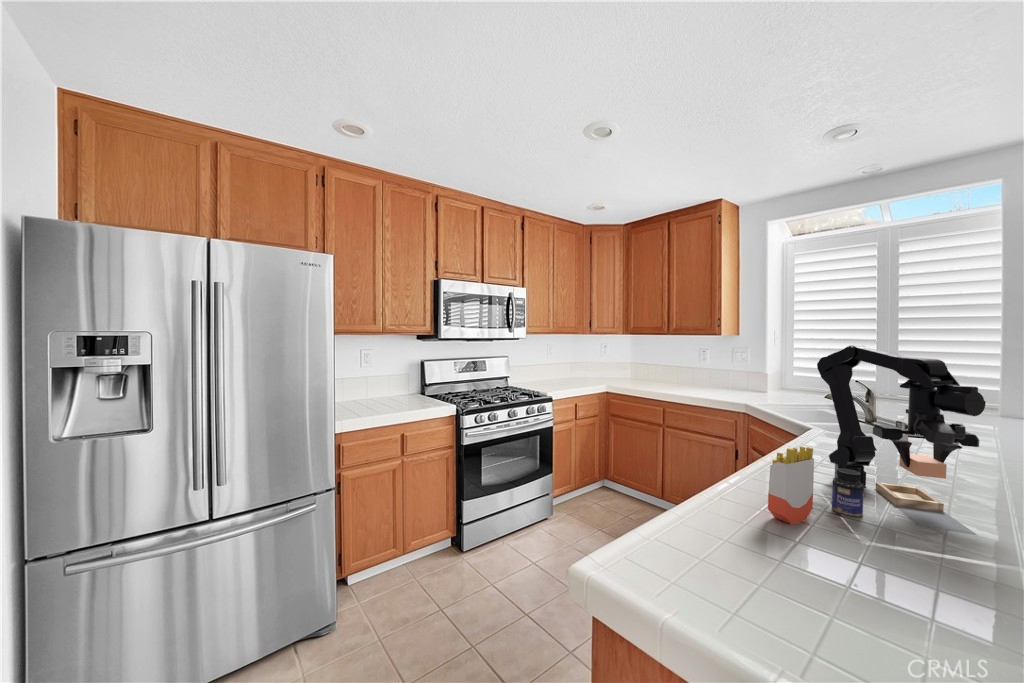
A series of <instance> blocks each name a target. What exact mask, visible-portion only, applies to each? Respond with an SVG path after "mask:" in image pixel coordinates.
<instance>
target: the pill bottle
mask: <svg viewBox="0 0 1024 683" xmlns="http://www.w3.org/2000/svg"><path fill="white" fill-rule="evenodd" d="M836 474H837V478H835V477H833V478H834V479H833V478H832V486H831V487H832V490H831V511H832V512H833V513H834V515H836V516H839V517H842V516H844V517H849V518H856V519H857V518H863V516H864V515H863V514H864V513H863V512H864V498H865V497H864V495H865V494H864V493H865V488H864V486H863V484H862V483H861V482H859V479H861V474H860V473H859V472H857V471H854V470H850V469H844V468H839V469H837V473H836Z"/></svg>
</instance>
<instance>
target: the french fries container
mask: <svg viewBox="0 0 1024 683" xmlns="http://www.w3.org/2000/svg"><path fill="white" fill-rule="evenodd" d="M813 454H814V448H813V447H808V446H807V447H804V446H799V450H798V448H795V447H793V448H790V447H789V448H786V454H785V455H786V456H784V454H783V453H782V452H776V459H771V460H772V464H771V465H770V466H769V467H770V468H769V480H768V492H767V494H768V495H767V510H768V511H769V512H770V514H771V515H772V516H773V518H775V517H776V519H778V520H780V521H782V520H783V521H782V522H785V523H787V522H788V524H790V525H795V524H798V522H799V523H801V521H802V522H805V521H806V520H807V519H808V517H809V515H810V514H811V513H812V510H813V509H814V507H813V506H814V505H813V504H814V480H815V479H814V474H815V458H813V457H814V455H813ZM804 520H805V521H804Z"/></svg>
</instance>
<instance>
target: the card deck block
mask: <svg viewBox="0 0 1024 683" xmlns="http://www.w3.org/2000/svg"><path fill="white" fill-rule="evenodd" d="M947 466H948V465H947V464H946V463H942V462H940V461H938V460H936V459H934V458H933V457H931V456H929V455H926V454H917V453H916V454H915V453H910V466H909V467H906V466H905V464H904V462H903V460H902V458H901V456H900V455H899V467H901V468H903V469H905V470H906V471H908V472H910V473H912V474H913V475H915V476H917V477H925V478H926V477H927V478H935V479H936V478H937V479H947Z"/></svg>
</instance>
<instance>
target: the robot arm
mask: <svg viewBox="0 0 1024 683" xmlns="http://www.w3.org/2000/svg"><path fill="white" fill-rule="evenodd" d="M861 362H864V363H868V364H870V365H874V366H878V367H882V368H886V369H889V370H892V371H894V372H896V373H897V374H898V375H900V376H902V377H903V378H906V379H907V380H906V381H905V382H904V383H901V384H900V385H899V388H901V389H906V390H908V391H909V392H908V409H907V408H906V409H905V414H907V424H904V429H901V428H899V427H896V426H894V425H889V424H888V425H887V424H875V425H874V426H873V427H872V435H874V436H876V437H878V438H880V439H883V440H889V441H891V442H892V443H893V445H894V447H895V448H896V450H897V452H898V454H899V457H900V456H901V458H902V460H903V462H904V464H905V466H906V467H909V466H910V454H911V453H910V452H911V451H910V448H911V446H912V444H913V442H911V441H909V438H911V439H912V438H913V439H914V438H915V439H924V440H926V441H927V442H929V443H931V444H932V447H933V450H932V451H933V453H932V454H933V456H932V458H934V459H936V460H938V461H940V462H942V463H944V462H945V461H946V460H947V458H948V457H949V455H950V454H951V453H952V452H954V451H955V450H961V449H963V447H972V448H973V447H974V448H980V439H979V437H978V436H977V435H976V434H975V433H970V432H967V430H966V426H965V425H964V424H963V423H946V422H945V417H944V415H945V414H942V413H941V411H943V412H945V413H952V414H957V415H958V414H959V415H965V416H970V417H978V416H980V415H981V414H982V413H983V412H984V410H985V407H986V400H985V398H984V396H983V395H982V394H981V393H980V392H979V387H978V386H972V385H971V386H969V385H967V386H966V385H964V386H963V385H960V383H959V382H958V381H957V379H956V378H954V376H953V375H952V373H951V372H950V371H949V370H948V366H947V365H946V363H945V362H944V361H943V360H941V359H938V358H928V357H927V358H926V357H925V358H924V357H909V356H904V355H903V356H902V355H899V354H896V353H891V352H886V351H882V350H879V349H875V348H871V347H867V346H864V345H854V344H853V345H848V346H846V347H844V348H843V349H841V350H839V351H836V352H834V353H830V354H829V355H827V356H822V357H821V358H820V359H819V360H818V362H817V365H816V366H817V367H816V368H817V370H818V372H819V375H820V378H821V379H822V380H823V381H824V383H826V384H827V385H828V387H829V391H830V394H831V398H832V402H833V407H834V410H835V415H836V419H837V423H838V427H839V432H840V433H839V436H838V437H837V440H836V444H837V448H836V450H834V451H833V452H831V453H830V454H828V459H829V461H830V463H831V464H834V477H832V480H833V479H834V478H837V474H836V473H837V469H839V468H844V469H850V470H854V471H857V472H859V473H860V474H861V479H859V482H861V483H862V484H863V486H864V489H866V488H867V487H866V485H867V471H866V470H865V467H870V464H871V462H872V460H873V459H874V458H875V457H876V451H877V450H878V449H877V448H876V446H875V442H874V438H873V436H871V435H869V436H867V435H866V434H865V433H864V432H863V431H862V429H861V424H860V421H859V417H858V416H859V415H858V413H857V409H856V405H855V401H854V397H853V394H852V390H851V387H850V382H851V380H852V377H853V368H855V367H857V366H859V364H860V363H861ZM944 464H945V463H944Z"/></svg>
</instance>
